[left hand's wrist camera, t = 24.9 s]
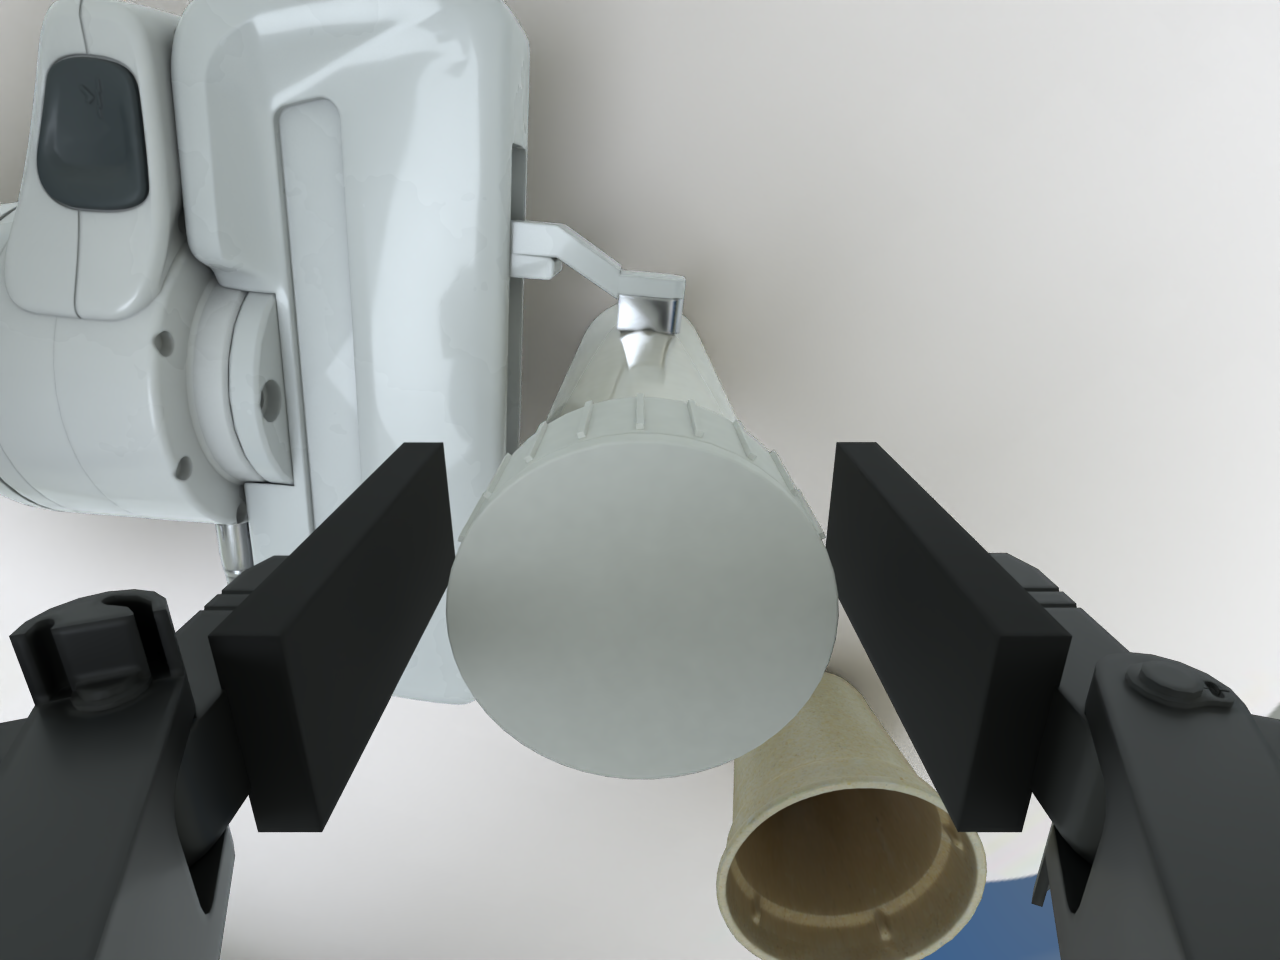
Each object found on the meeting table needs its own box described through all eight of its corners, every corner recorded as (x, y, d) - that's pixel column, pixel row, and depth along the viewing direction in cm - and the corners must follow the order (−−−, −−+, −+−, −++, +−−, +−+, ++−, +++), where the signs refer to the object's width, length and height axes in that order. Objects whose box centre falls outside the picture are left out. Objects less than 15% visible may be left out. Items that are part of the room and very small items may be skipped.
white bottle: (583, 291, 26) (488, 428, 10) (712, 306, 26) (829, 463, 10) (573, 417, 28) (479, 710, 11) (695, 429, 28) (770, 736, 12)
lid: (695, 320, 11) (708, 349, 8) (865, 596, 12) (912, 677, 10) (406, 509, 12) (355, 575, 10) (600, 737, 13) (592, 837, 11)
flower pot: (671, 668, 32) (682, 825, 24) (877, 608, 31) (962, 752, 22) (730, 818, 35) (758, 1002, 27) (919, 769, 34) (1007, 945, 26)
